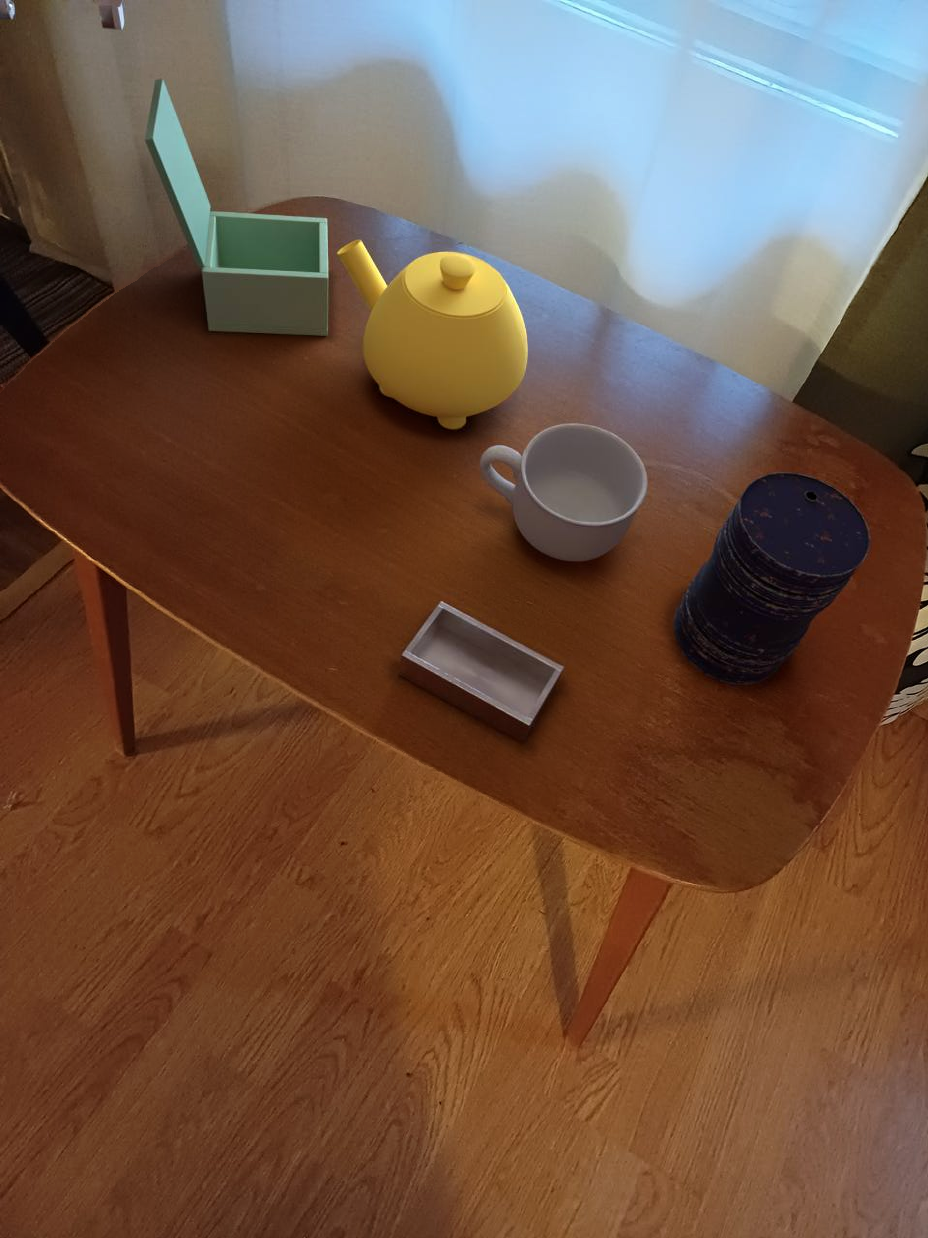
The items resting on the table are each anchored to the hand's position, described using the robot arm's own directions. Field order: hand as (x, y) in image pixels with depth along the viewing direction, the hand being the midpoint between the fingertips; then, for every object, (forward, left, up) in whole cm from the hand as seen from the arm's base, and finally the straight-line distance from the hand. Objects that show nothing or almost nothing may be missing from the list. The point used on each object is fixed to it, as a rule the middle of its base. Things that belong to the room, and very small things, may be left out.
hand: (59, 20), depth 72 cm
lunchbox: (+15, 0, -25) cm, 29 cm away
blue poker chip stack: (+54, -41, -25) cm, 72 cm away
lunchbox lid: (+8, 0, -12) cm, 14 cm away
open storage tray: (+32, -45, -25) cm, 61 cm away
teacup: (+40, -29, -25) cm, 55 cm away
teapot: (+30, -10, -25) cm, 40 cm away
